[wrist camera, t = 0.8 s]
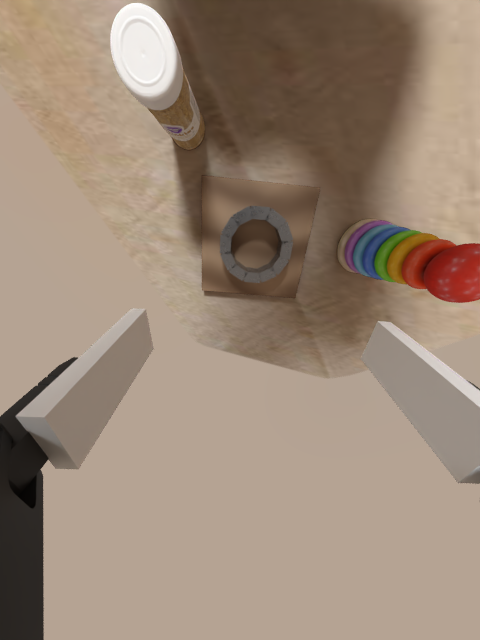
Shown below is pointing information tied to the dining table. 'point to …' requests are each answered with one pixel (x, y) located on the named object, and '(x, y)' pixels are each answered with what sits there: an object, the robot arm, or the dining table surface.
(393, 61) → the dining table surface
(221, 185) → the base board
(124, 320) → the robot arm
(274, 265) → the collar
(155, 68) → the sprinkles bottle
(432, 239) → the stacking toy
